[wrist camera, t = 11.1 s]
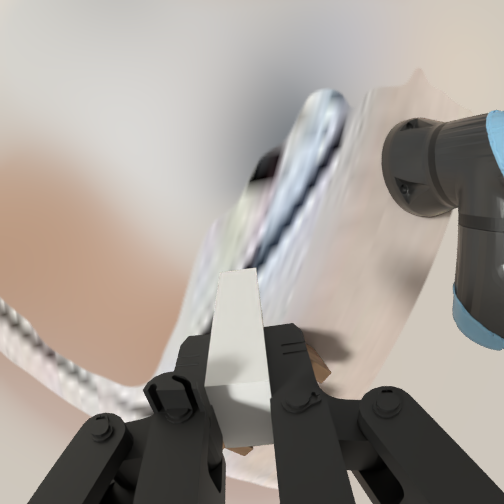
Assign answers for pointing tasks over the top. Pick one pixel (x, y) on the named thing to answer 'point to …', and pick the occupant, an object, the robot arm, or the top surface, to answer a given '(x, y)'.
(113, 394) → the top surface
